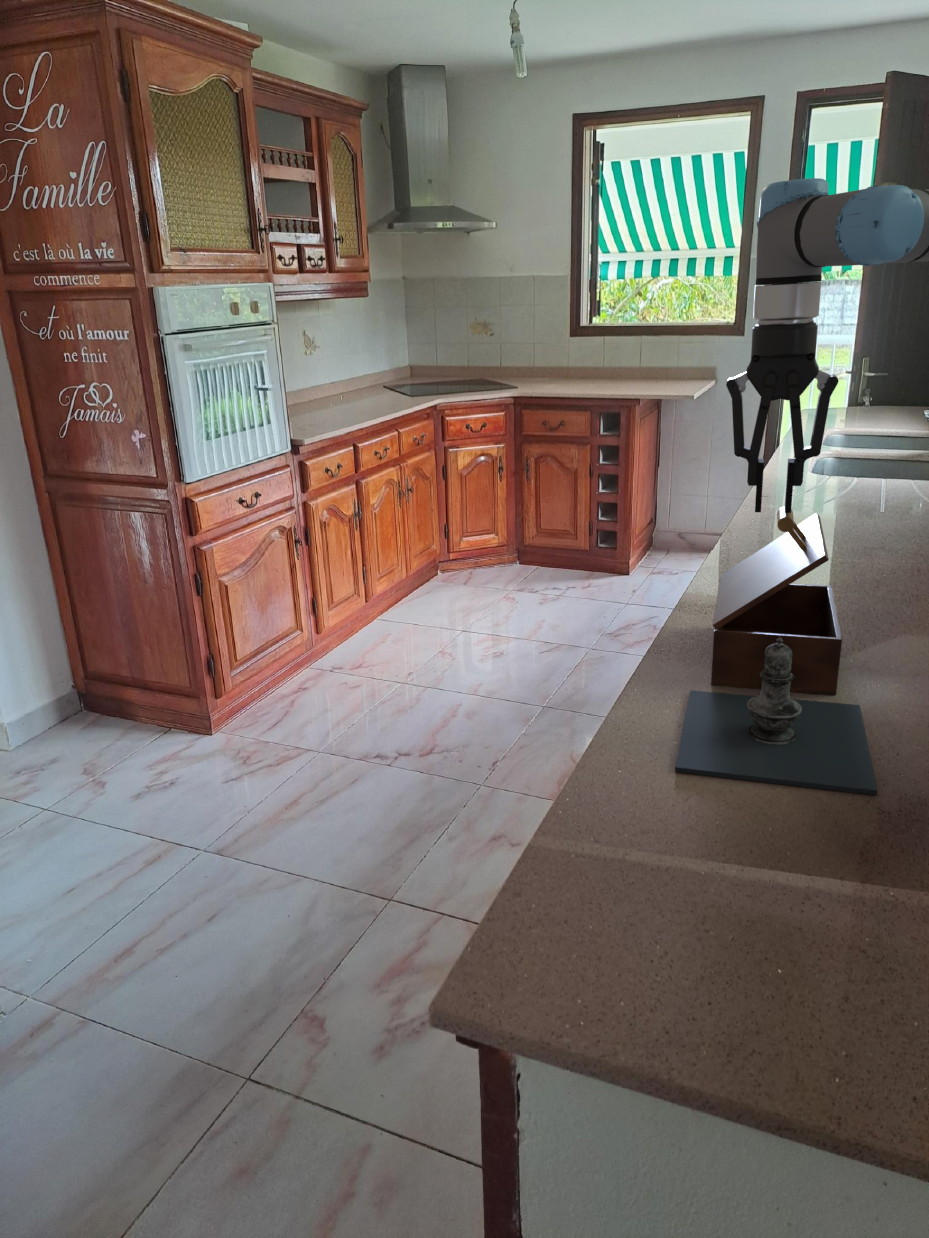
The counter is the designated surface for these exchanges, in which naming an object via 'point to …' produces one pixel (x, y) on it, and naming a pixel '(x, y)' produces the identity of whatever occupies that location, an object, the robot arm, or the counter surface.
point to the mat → (815, 759)
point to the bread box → (802, 626)
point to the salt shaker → (774, 699)
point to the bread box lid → (771, 567)
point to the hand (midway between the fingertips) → (772, 509)
